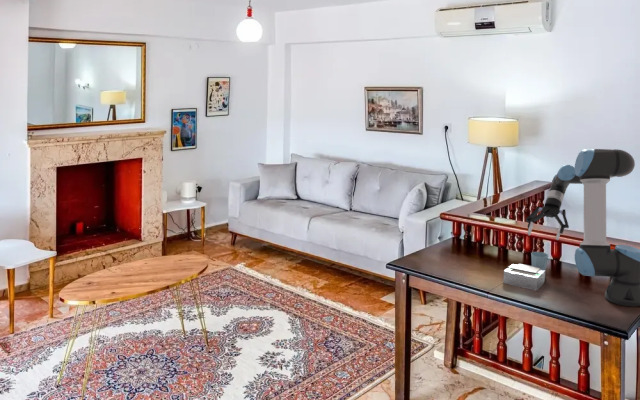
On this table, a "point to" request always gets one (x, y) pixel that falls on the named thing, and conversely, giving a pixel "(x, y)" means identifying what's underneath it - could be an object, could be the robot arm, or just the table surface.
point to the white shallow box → (526, 269)
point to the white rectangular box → (524, 279)
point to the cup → (539, 259)
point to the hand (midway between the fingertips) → (542, 236)
